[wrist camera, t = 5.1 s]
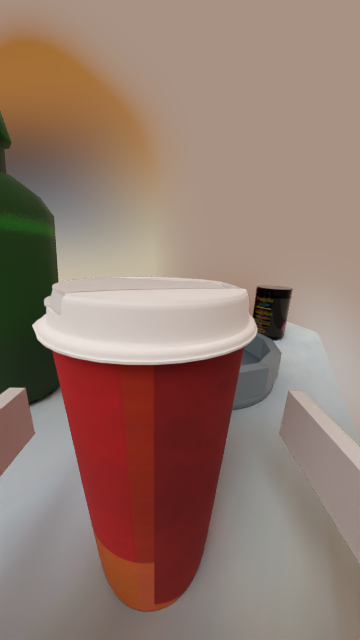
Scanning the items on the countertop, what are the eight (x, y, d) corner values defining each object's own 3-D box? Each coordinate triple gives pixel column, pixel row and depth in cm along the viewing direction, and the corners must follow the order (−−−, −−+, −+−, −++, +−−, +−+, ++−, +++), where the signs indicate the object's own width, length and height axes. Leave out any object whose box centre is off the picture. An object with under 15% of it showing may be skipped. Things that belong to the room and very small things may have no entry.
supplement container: (282, 343, 40) (292, 290, 37) (247, 336, 43) (253, 287, 40) (284, 333, 45) (293, 287, 42) (253, 328, 49) (259, 284, 46)
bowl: (117, 368, 29) (115, 339, 27) (193, 336, 42) (194, 315, 41) (237, 440, 18) (243, 397, 16) (288, 365, 31) (293, 339, 30)
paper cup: (204, 461, 16) (220, 277, 12) (248, 638, 8) (330, 304, 4) (98, 471, 15) (78, 273, 11) (43, 681, 7) (-83, 301, 3)
